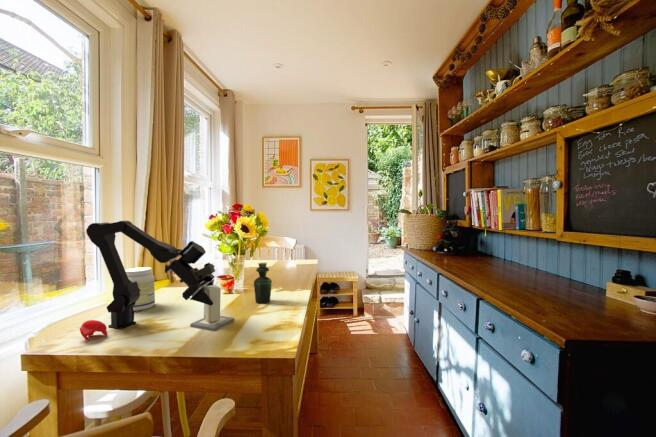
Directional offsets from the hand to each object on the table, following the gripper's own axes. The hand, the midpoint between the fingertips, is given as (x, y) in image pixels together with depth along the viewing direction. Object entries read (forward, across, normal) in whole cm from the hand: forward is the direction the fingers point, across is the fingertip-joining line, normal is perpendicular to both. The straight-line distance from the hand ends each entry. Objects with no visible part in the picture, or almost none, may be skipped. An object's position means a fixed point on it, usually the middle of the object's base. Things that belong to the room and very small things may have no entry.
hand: (215, 301), depth 118 cm
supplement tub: (-22, +21, +34) cm, 46 cm away
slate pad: (+5, 0, +7) cm, 8 cm away
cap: (-20, -11, +33) cm, 40 cm away
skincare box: (+4, 0, +6) cm, 7 cm away
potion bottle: (+15, +26, -4) cm, 31 cm away
